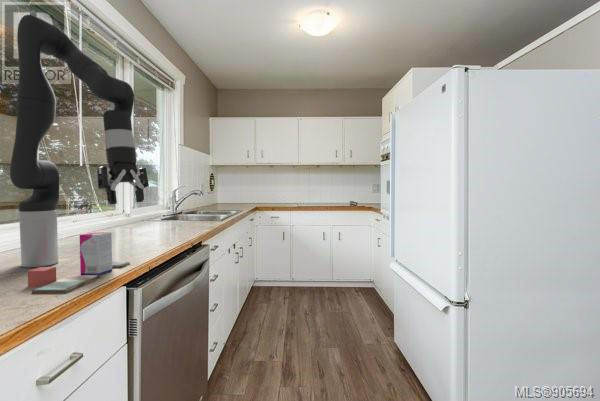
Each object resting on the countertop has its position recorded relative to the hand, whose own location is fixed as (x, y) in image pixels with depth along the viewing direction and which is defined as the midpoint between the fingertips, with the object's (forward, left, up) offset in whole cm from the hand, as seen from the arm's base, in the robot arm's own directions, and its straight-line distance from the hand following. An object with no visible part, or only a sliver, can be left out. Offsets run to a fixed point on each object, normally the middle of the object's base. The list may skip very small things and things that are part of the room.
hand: (127, 203), depth 92 cm
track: (-4, -9, -20) cm, 22 cm away
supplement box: (-6, -6, -20) cm, 22 cm away
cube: (-7, -19, -20) cm, 28 cm away
